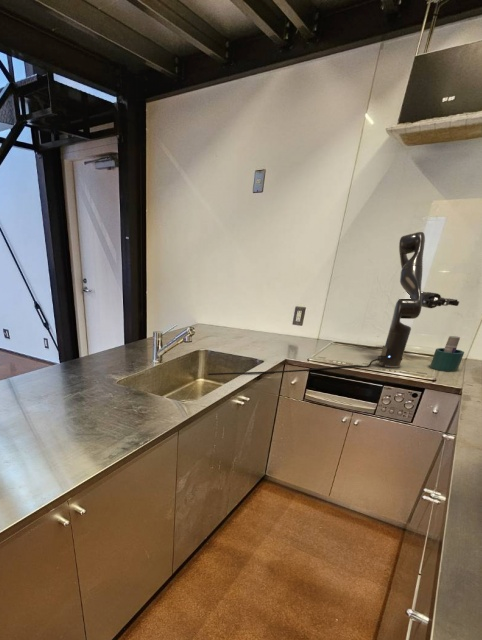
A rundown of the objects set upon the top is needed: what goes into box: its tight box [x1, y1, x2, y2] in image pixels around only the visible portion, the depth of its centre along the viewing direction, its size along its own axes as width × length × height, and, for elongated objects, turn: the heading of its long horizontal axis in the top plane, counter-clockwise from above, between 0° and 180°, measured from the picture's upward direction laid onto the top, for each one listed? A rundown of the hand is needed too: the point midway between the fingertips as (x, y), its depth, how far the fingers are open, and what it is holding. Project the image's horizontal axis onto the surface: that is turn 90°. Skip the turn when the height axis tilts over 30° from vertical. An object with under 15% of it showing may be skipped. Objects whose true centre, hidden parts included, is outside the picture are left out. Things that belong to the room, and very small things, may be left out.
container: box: [444, 335, 461, 353], centre depth 191 cm, size 5×5×15 cm
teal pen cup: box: [430, 347, 465, 372], centre depth 192 cm, size 12×12×9 cm
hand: (449, 303), depth 190 cm, fingers open, 8 cm apart
